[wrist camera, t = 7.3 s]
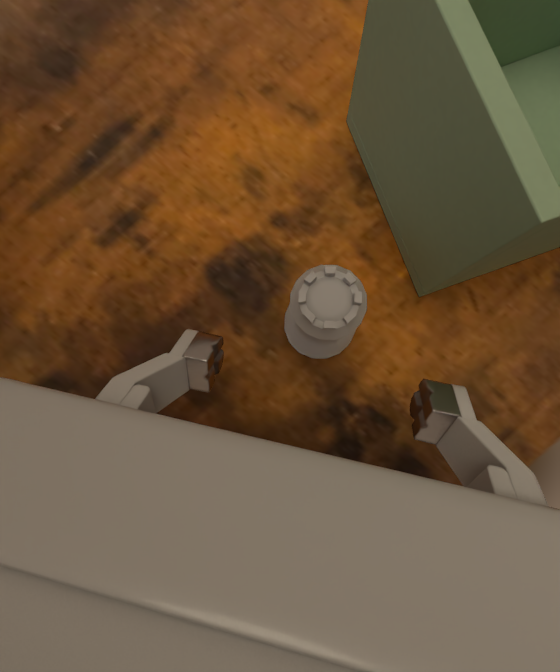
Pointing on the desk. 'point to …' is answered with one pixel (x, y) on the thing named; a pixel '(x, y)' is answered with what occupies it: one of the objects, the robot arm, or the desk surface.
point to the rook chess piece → (324, 311)
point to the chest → (461, 131)
